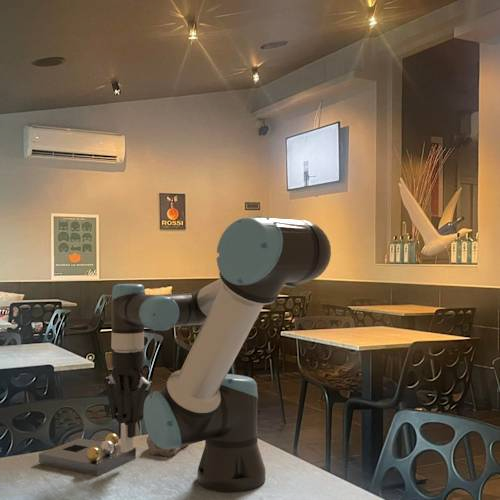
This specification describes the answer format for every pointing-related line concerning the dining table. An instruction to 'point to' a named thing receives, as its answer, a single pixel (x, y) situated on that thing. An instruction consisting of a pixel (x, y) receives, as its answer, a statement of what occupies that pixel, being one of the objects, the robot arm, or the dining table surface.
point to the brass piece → (93, 454)
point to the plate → (84, 457)
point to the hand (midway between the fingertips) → (126, 450)
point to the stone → (160, 449)
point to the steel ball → (107, 447)
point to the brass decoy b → (112, 438)
